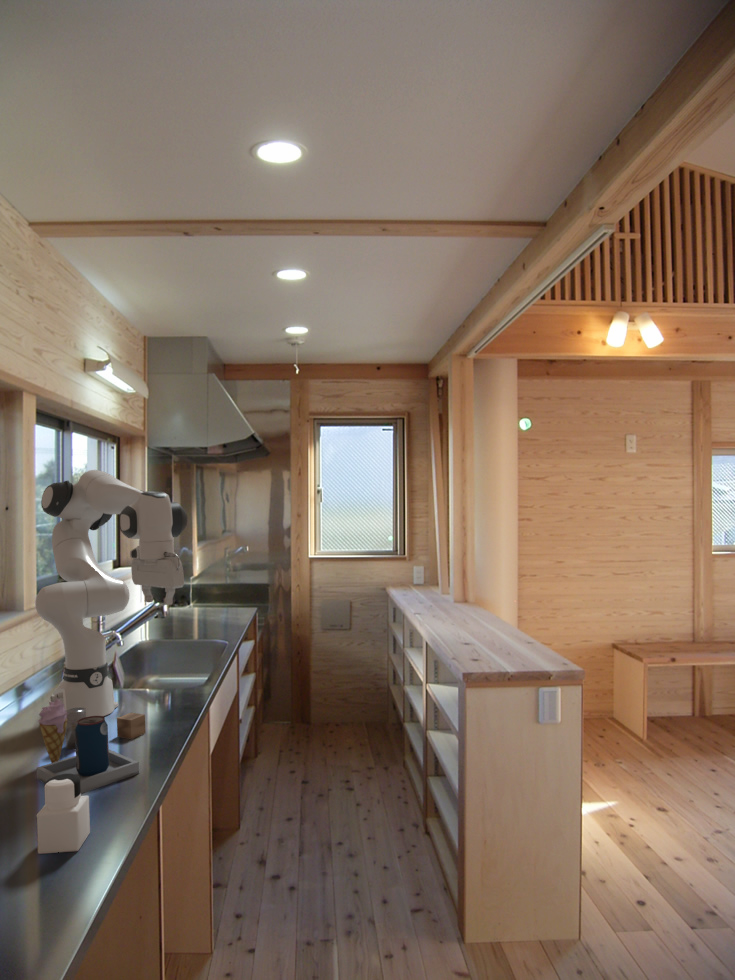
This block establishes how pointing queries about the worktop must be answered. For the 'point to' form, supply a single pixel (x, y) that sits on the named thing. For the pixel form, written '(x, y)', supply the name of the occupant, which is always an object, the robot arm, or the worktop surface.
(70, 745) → the dark metal canister
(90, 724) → the soda can
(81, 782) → the slate tray
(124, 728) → the walnut block
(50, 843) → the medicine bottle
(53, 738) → the ice cream cone
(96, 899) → the worktop surface
